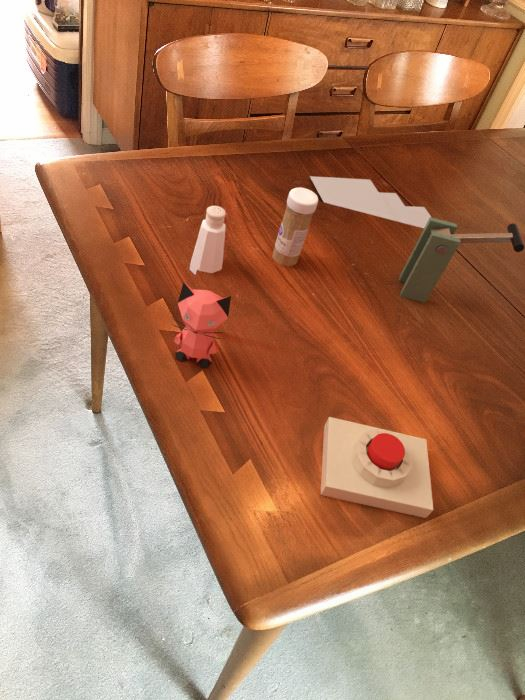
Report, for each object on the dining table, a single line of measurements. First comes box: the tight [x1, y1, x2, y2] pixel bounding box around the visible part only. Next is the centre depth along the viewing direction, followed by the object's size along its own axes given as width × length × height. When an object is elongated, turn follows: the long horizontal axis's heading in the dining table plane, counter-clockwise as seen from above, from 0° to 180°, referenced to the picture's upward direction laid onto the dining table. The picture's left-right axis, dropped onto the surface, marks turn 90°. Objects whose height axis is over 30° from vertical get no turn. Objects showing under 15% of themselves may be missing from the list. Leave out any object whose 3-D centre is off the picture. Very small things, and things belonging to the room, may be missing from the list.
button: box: [368, 433, 405, 470], centre depth 66 cm, size 4×4×2 cm
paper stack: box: [309, 175, 432, 229], centre depth 109 cm, size 23×25×1 cm
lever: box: [430, 222, 525, 253], centre depth 85 cm, size 13×6×2 cm, turn 83°
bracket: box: [398, 216, 462, 303], centre depth 89 cm, size 12×9×14 cm
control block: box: [320, 416, 434, 519], centre depth 67 cm, size 13×10×4 cm
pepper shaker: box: [189, 205, 227, 276], centre depth 84 cm, size 5×5×11 cm
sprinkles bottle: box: [271, 187, 319, 267], centre depth 88 cm, size 5×5×13 cm
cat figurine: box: [170, 281, 232, 369], centre depth 71 cm, size 7×7×12 cm
